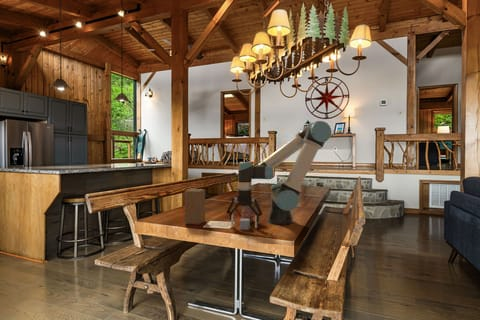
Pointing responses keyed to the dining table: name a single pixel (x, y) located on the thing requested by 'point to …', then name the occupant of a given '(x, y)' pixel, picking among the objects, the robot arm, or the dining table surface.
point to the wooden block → (194, 206)
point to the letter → (218, 224)
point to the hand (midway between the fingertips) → (243, 226)
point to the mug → (246, 212)
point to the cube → (244, 224)
